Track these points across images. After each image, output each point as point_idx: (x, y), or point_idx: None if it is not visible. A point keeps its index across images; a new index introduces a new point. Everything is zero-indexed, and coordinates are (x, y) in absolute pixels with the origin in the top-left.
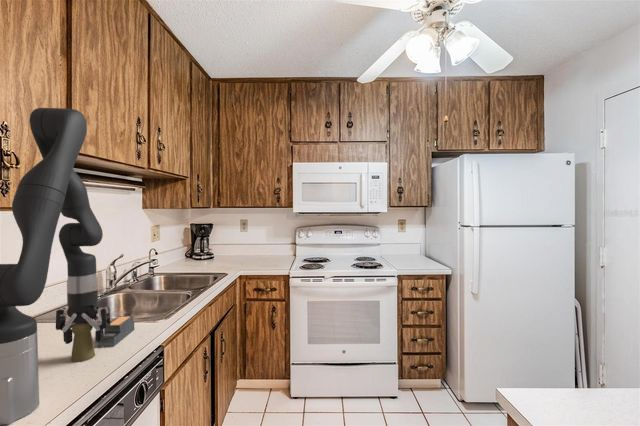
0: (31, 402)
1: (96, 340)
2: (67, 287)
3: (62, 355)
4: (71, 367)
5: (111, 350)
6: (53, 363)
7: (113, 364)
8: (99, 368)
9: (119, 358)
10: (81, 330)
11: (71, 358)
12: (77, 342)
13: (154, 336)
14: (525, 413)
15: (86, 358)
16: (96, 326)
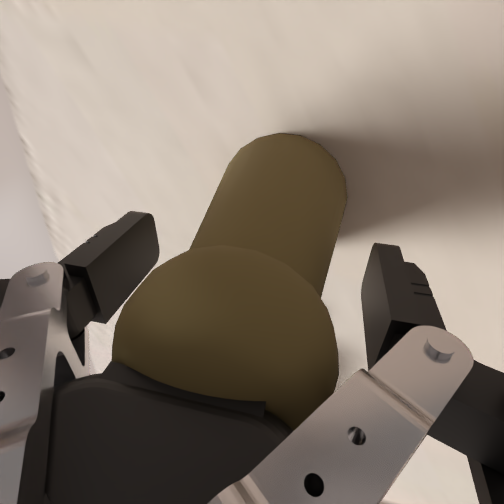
0: None
1: (133, 219)
2: None
3: (427, 253)
4: (283, 49)
5: (177, 252)
6: (448, 143)
7: (42, 62)
8: (82, 5)
9: (70, 145)
10: (171, 262)
11: (331, 164)
12: (264, 202)
13: (89, 337)
14: None
15: (237, 156)
16: (25, 297)
